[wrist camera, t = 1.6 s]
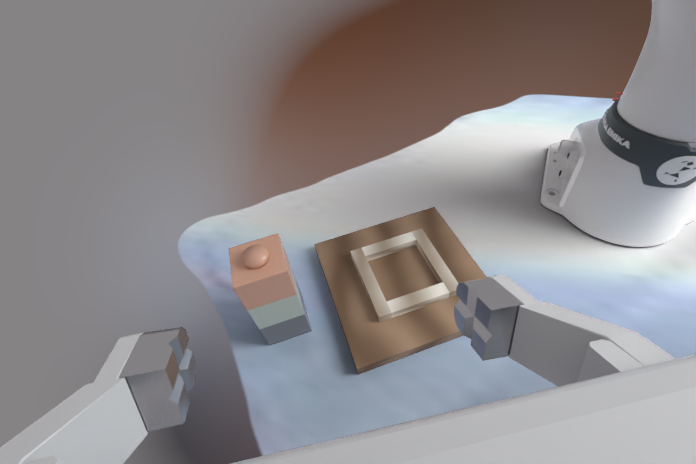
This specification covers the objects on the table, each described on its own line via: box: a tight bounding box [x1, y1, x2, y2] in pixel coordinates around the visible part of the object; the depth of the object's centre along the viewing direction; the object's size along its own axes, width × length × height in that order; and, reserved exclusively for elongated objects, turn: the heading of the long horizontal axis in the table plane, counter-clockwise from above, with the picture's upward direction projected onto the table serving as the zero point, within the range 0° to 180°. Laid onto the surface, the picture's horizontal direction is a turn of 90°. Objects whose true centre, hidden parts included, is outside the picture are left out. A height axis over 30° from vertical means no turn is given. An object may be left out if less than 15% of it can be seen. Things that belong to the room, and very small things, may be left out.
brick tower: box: [229, 234, 311, 345], centre depth 36 cm, size 5×5×13 cm
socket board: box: [315, 207, 487, 374], centre depth 42 cm, size 18×18×3 cm
